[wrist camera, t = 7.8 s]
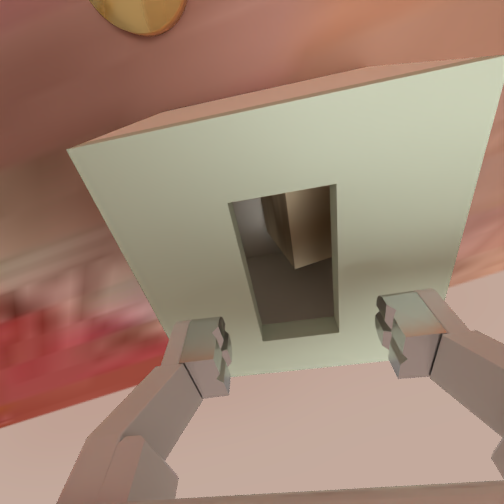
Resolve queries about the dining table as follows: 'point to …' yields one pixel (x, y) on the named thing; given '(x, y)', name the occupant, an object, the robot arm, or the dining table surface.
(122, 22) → the brass disc
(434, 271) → the box
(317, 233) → the block
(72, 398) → the dining table surface
